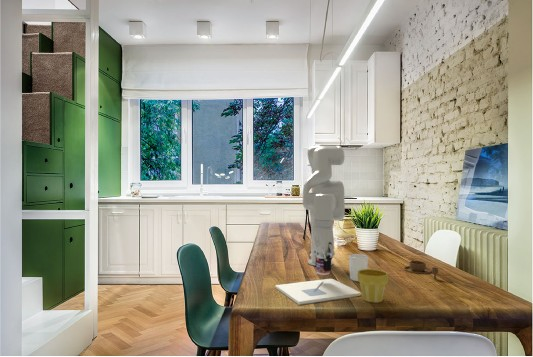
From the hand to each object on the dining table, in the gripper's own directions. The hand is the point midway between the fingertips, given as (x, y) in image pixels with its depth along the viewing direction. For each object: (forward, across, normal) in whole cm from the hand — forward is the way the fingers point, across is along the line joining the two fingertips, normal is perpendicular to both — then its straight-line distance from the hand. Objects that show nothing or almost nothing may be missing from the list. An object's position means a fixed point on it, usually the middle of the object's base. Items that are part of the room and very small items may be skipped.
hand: (323, 268), depth 144 cm
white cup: (+7, -1, +18) cm, 19 cm away
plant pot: (+7, +22, +7) cm, 24 cm away
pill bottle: (+2, 0, 0) cm, 2 cm away
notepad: (+7, +7, -7) cm, 12 cm away
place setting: (+7, +1, +50) cm, 50 cm away
